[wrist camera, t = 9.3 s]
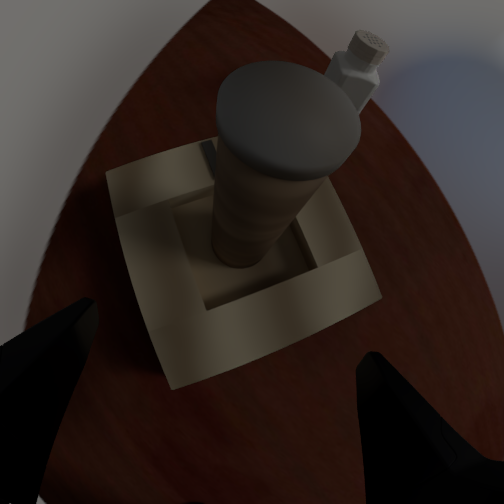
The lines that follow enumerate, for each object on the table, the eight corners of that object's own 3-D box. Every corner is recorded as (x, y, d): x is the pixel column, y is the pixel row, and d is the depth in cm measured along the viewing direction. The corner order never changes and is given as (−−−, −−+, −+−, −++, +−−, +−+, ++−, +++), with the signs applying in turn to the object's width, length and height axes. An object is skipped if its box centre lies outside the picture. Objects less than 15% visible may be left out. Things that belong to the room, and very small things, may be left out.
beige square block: (179, 377, 18) (171, 390, 14) (120, 197, 20) (104, 170, 16) (354, 303, 21) (383, 297, 17) (283, 148, 23) (296, 118, 19)
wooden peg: (235, 282, 17) (291, 196, 6) (197, 235, 18) (187, 89, 6) (281, 245, 18) (384, 130, 7) (243, 202, 19) (292, 50, 7)
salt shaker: (348, 98, 27) (386, 36, 18) (354, 124, 26) (399, 61, 17) (314, 89, 26) (347, 22, 17) (318, 115, 25) (357, 44, 16)
